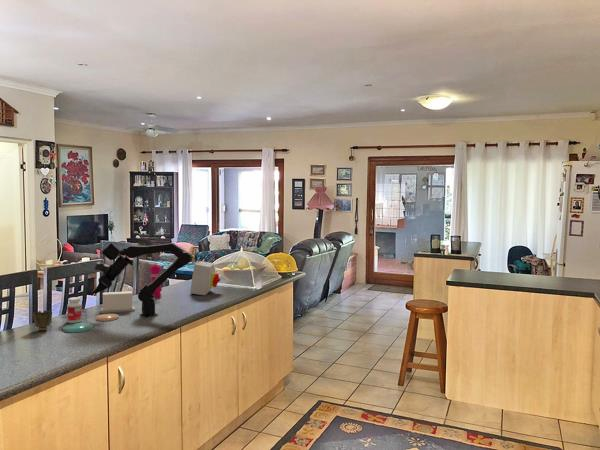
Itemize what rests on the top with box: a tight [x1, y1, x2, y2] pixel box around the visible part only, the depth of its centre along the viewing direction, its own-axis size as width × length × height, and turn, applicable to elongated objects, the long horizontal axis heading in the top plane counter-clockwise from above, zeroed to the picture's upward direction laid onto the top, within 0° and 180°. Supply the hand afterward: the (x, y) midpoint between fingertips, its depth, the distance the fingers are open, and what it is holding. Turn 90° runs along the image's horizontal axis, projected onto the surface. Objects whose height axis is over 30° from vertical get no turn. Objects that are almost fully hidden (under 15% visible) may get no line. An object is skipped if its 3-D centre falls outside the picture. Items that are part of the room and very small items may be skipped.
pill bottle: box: [66, 296, 83, 324], centre depth 227 cm, size 6×6×11 cm
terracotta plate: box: [95, 313, 120, 322], centre depth 234 cm, size 10×10×1 cm
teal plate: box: [62, 322, 94, 334], centre depth 216 cm, size 12×12×1 cm
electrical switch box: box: [189, 260, 221, 296], centre depth 294 cm, size 15×15×20 cm
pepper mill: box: [149, 262, 163, 299], centre depth 282 cm, size 7×7×20 cm
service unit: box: [100, 290, 136, 314], centre depth 249 cm, size 7×16×9 cm, turn 110°
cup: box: [32, 309, 53, 332], centre depth 212 cm, size 8×7×8 cm
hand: (95, 291), depth 233 cm, fingers open, 9 cm apart
